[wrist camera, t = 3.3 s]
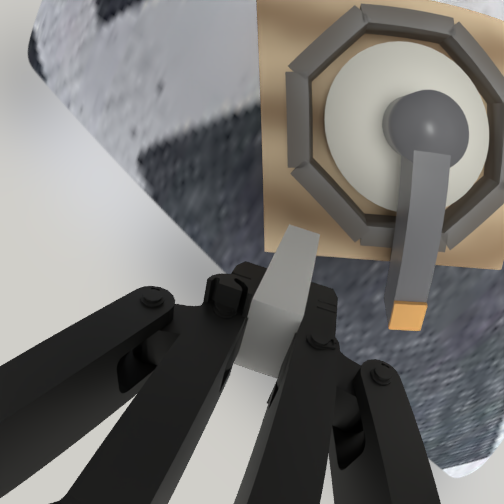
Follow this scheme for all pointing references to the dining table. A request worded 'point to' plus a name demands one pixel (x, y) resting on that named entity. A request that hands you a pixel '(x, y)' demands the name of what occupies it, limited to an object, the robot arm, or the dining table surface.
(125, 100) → the dining table surface
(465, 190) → the dial
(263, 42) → the dial board
